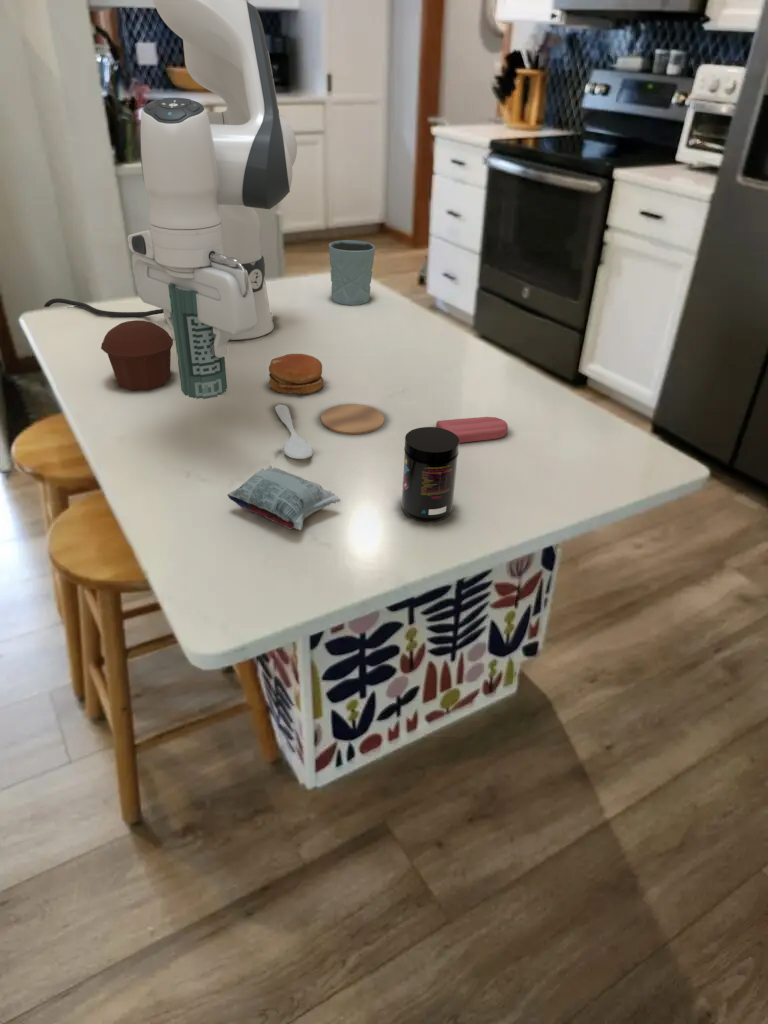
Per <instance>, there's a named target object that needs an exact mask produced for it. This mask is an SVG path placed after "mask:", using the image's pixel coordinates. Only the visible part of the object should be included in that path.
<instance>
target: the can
mask: <svg viewBox="0 0 768 1024" xmlns="http://www.w3.org/2000/svg"><path fill="white" fill-rule="evenodd" d="M168 288H169V296H170V304H171V311H172V319H173V327H174V335H175V341H174V342H175V351H176V358H177V359H176V360H177V367H178V374H179V383H180V390H181V392H182V394H183V396H185V397H186V396H187V397H188V398H192V399H196V400H200V399H203V400H208V399H213V398H218V396H222V395H223V394H225V393H226V392H227V389H228V382H227V371H226V370H227V369H226V359H225V357H226V356H224V357H221V358H219V357H216V356H213V355H211V353H210V351H211V349H210V343H212V342H214V341H215V338H216V334H214V333H213V327H212V326H209V325H206V324H203V323H201V322H199V319H198V313H197V301H196V294H197V293H198V292H197V291H193V290H190V291H187V290H182V289H181V290H179V289H178V288H175V284H173V283H170V285H168Z"/></svg>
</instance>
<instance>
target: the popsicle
mask: <svg viewBox="0 0 768 1024" xmlns="http://www.w3.org/2000/svg"><path fill="white" fill-rule="evenodd" d="M435 427H437V428H442V429H446V430H449V431H451V432H453V433H454V434H456V435H457V437H458V438H459V444H462V443H471V442H479V441H480V442H481V441H488V440H498V439H501V438H503V437H505V436H506V435H507V433H508V428H509V426H508V422H507V421H505V420H504V419H502V418H499V417H496V416H481V417H480V416H479V417H467V418H465V417H464V418H454V419H441V420H436V425H435Z"/></svg>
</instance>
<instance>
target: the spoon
mask: <svg viewBox="0 0 768 1024" xmlns="http://www.w3.org/2000/svg"><path fill="white" fill-rule="evenodd" d="M274 410H275V412H276V414H277V417H278V418H279V419H280V420H281V422H282V423H283V424H284V425H285V426H286V427H287V429H288V430H289V432H290V437H289V439H288V440H287V441H286V443H285V445H284V447H283V452H284V454H285V455H286V456H287V457H290V458H292V459H299V460H304V459H307V458H310V457H311V456H313V453H314V451H313V447H312V446H311V445H310V443H309V442H308V441H306V440H304V439H303V438H302V437H300V436H299V434H298V433H297V432H296V430H295V428H294V426H293V419H292V416H291V413H290V409H289V407H288V406H287V405H284V404H278V405H276V406H275V407H274Z"/></svg>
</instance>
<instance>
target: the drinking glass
mask: <svg viewBox="0 0 768 1024" xmlns="http://www.w3.org/2000/svg"><path fill="white" fill-rule="evenodd" d="M375 252H376V246H375V245H374V244H373V243H371V242H367V241H363V240H354V239H342V240H335V241H332V242H330V243H328V253H329V254H328V255H329V265H330V282H331V289H330V290H331V299H332V301H333V302H334V303H336V304H339V305H344V306H359V305H363V304H366V303H368V302H369V301H370V294H371V283H372V275H373V271H372V269H373V267H374V260H375V259H374V258H375Z"/></svg>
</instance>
